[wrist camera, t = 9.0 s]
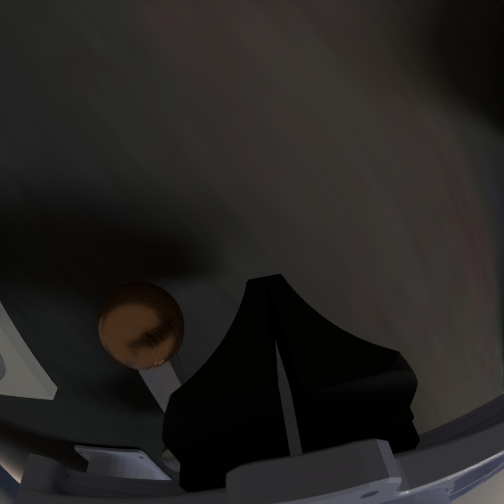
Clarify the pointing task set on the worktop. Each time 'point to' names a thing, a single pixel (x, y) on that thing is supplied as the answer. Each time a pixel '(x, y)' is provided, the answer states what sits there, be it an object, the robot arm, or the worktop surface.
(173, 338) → the lever
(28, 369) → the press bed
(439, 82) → the worktop surface
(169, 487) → the robot arm
